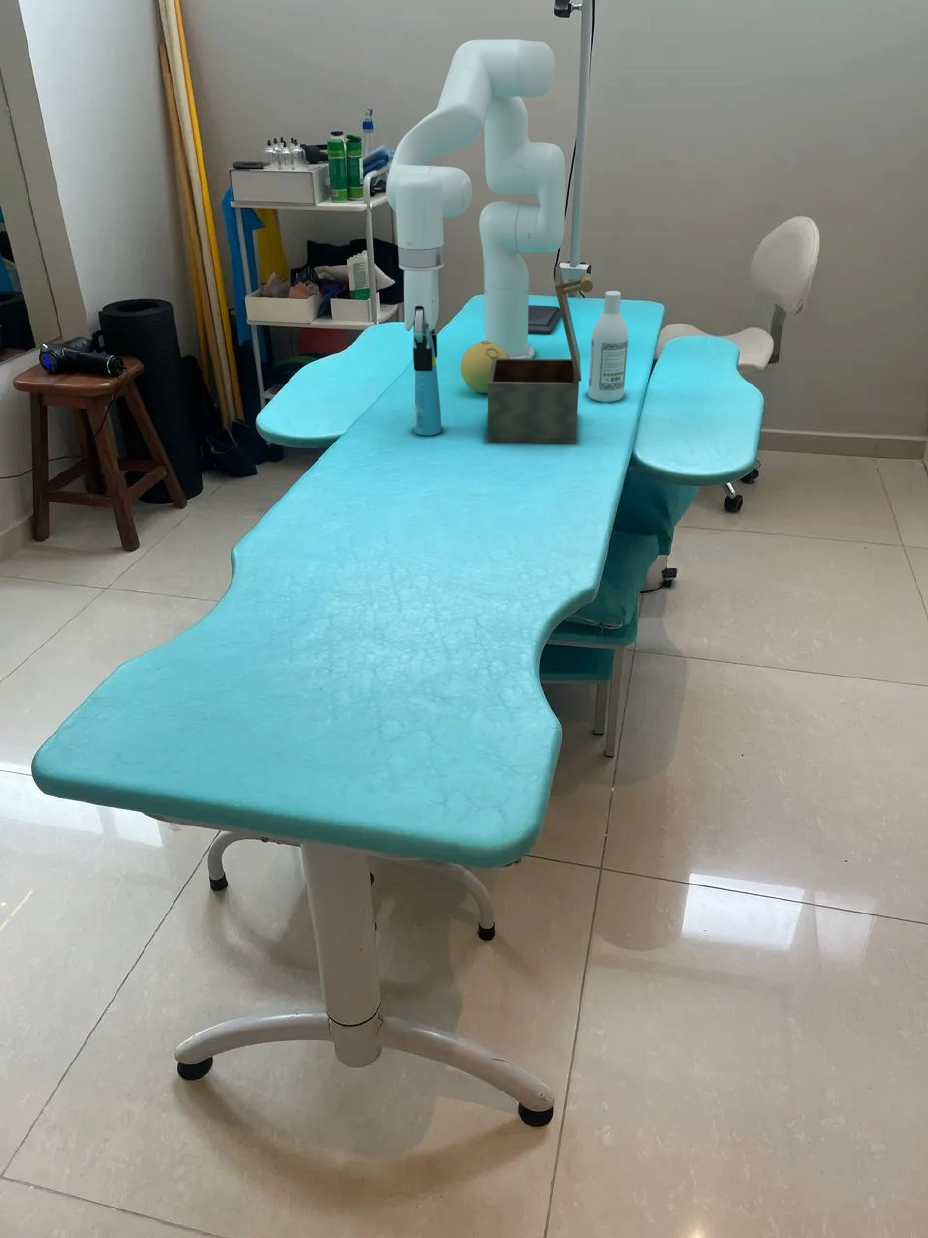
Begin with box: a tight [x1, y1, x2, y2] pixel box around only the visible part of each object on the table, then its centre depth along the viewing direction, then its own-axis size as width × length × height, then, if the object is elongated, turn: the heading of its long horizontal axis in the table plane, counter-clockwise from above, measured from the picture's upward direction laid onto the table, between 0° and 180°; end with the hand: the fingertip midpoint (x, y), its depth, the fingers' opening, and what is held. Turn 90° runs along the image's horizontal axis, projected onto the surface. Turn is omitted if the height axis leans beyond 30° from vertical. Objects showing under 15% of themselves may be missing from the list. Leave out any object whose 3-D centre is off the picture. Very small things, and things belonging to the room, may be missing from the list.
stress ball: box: [460, 340, 509, 394], centre depth 182 cm, size 10×10×10 cm
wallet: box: [528, 304, 562, 335], centre depth 225 cm, size 20×2×15 cm
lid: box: [554, 264, 594, 383], centre depth 157 cm, size 16×14×6 cm
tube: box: [414, 326, 442, 436], centre depth 163 cm, size 7×5×19 cm, turn 26°
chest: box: [487, 358, 580, 445], centre depth 165 cm, size 16×14×11 cm
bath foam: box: [587, 290, 629, 403], centre depth 176 cm, size 7×7×20 cm
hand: (425, 362), depth 161 cm, fingers closed on tube, 6 cm apart
